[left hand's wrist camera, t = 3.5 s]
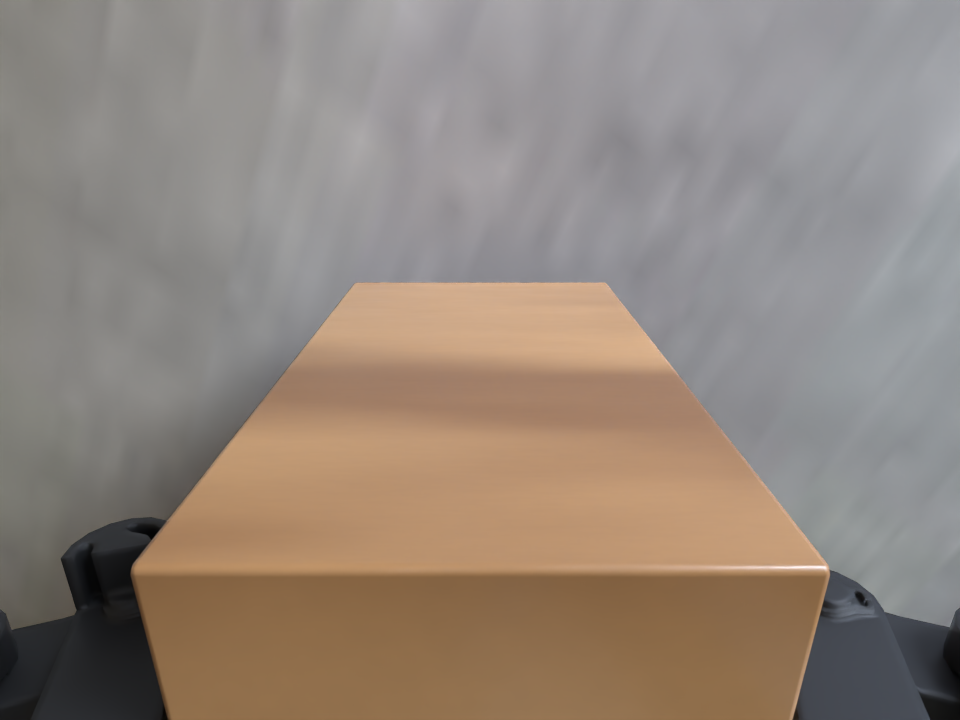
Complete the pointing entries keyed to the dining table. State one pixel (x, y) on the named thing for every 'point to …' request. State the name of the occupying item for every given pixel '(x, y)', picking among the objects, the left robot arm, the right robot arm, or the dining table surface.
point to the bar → (480, 530)
